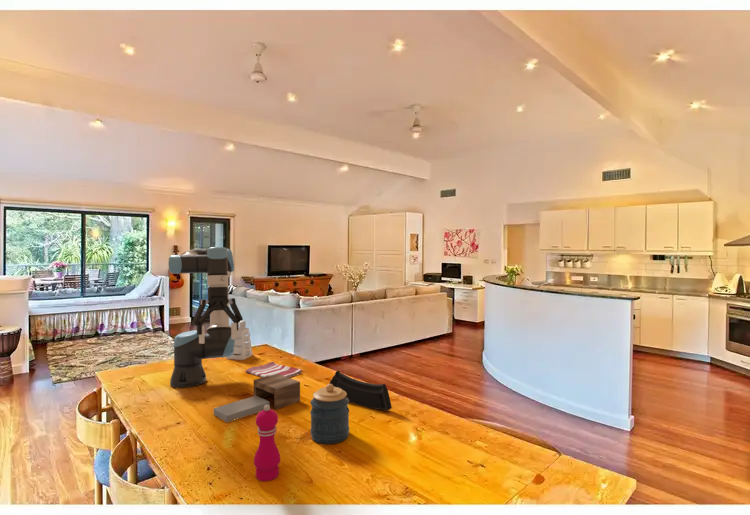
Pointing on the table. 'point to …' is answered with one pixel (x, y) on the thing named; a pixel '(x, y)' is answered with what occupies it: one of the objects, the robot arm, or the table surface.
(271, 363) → the dish towel
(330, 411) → the canister
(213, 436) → the table surface
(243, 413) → the tile
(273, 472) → the pepper mill
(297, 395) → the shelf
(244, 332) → the grater
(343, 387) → the magazine
